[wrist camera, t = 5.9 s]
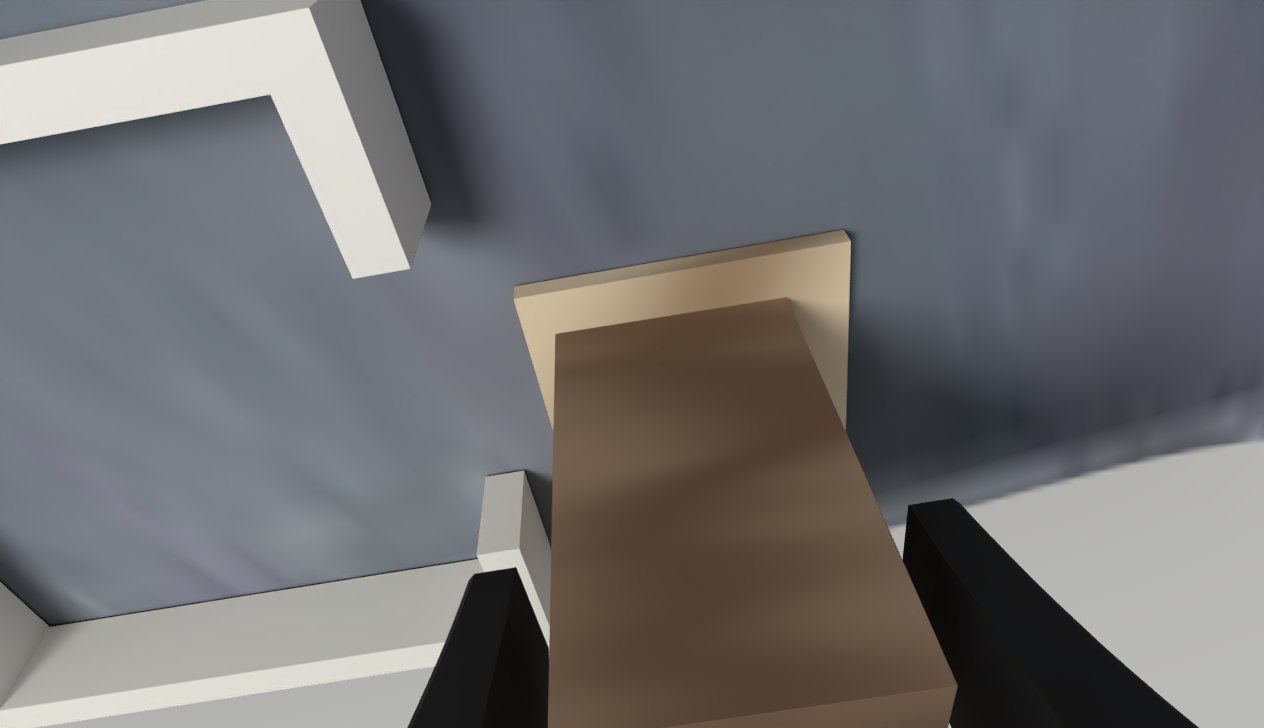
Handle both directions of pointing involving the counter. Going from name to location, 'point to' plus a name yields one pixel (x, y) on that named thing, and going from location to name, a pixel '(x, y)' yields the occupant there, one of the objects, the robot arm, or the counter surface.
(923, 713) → the walnut block
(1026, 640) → the robot arm
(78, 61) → the white open square frame
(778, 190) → the counter surface
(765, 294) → the cork trivet
